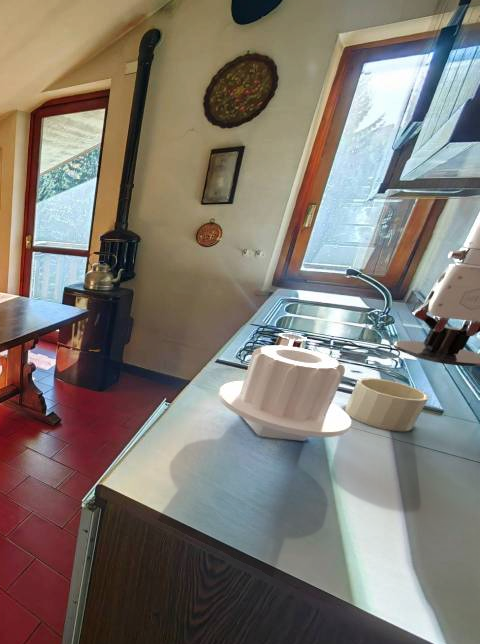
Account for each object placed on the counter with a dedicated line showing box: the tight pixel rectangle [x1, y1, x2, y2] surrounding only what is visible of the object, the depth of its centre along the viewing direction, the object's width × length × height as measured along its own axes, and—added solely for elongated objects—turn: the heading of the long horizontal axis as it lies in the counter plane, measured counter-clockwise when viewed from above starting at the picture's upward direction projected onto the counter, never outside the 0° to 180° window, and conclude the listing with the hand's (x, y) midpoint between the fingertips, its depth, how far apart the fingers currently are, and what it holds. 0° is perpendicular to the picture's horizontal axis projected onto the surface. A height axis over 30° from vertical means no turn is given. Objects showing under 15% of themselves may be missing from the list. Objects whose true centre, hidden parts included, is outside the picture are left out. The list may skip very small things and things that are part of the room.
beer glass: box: [273, 332, 308, 349], centre depth 116 cm, size 7×7×15 cm
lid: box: [393, 325, 480, 367], centre depth 80 cm, size 13×13×6 cm
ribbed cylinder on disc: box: [217, 344, 352, 442], centre depth 91 cm, size 25×25×19 cm
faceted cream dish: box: [344, 377, 430, 432], centre depth 98 cm, size 12×12×8 cm
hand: (440, 350), depth 80 cm, fingers closed on lid, 2 cm apart
